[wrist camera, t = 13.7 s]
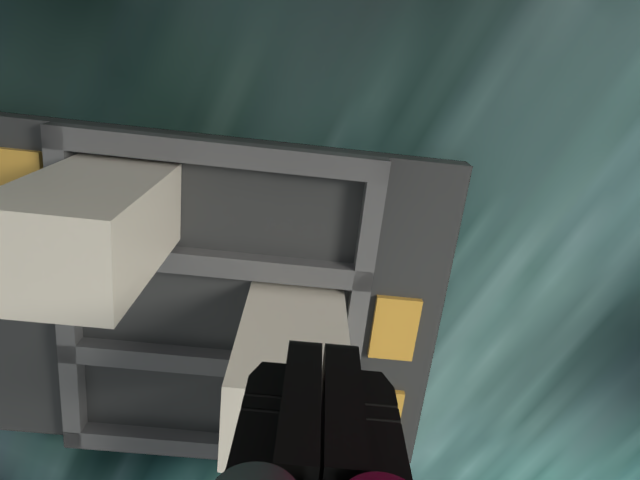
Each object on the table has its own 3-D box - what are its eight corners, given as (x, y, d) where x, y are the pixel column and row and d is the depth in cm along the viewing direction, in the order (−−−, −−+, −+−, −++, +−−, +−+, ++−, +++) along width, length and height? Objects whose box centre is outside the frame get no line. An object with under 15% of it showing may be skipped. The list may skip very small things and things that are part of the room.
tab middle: (343, 290, 22) (356, 398, 15) (335, 353, 23) (343, 482, 16) (251, 281, 22) (221, 386, 15) (247, 345, 23) (217, 472, 16)
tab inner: (181, 163, 20) (110, 221, 13) (180, 239, 22) (113, 329, 14) (79, 153, 20) (-48, 205, 13) (83, 229, 21) (-32, 316, 14)
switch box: (465, 161, 22) (478, 170, 20) (407, 448, 27) (413, 475, 25) (-24, 109, 21) (-54, 114, 19) (11, 416, 26) (-10, 441, 24)
